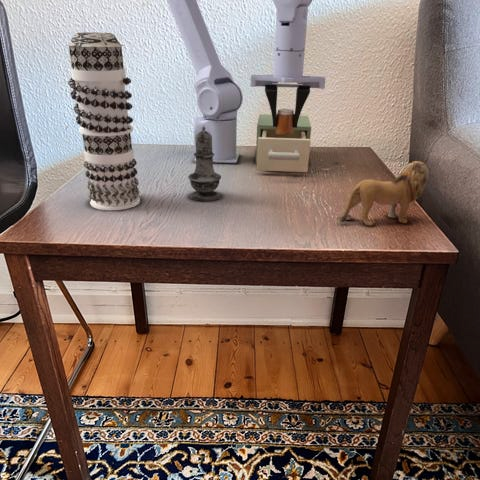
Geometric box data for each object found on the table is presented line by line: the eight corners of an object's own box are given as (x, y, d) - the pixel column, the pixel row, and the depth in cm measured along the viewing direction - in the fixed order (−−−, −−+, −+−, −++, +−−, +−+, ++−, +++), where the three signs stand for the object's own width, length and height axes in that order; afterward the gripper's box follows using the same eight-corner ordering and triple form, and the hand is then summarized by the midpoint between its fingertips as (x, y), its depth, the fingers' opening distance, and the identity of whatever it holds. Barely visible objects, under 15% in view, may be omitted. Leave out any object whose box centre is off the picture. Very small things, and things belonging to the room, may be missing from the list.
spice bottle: (275, 134, 96) (277, 111, 93) (275, 131, 99) (277, 108, 96) (293, 135, 95) (295, 111, 93) (292, 131, 98) (294, 108, 96)
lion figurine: (406, 210, 80) (418, 156, 75) (426, 221, 76) (440, 165, 71) (331, 219, 76) (338, 163, 71) (348, 231, 72) (357, 172, 67)
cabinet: (307, 165, 104) (311, 126, 99) (255, 163, 104) (257, 125, 100) (304, 151, 115) (307, 115, 111) (257, 149, 116) (259, 114, 111)
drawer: (308, 178, 92) (311, 145, 89) (256, 176, 93) (257, 143, 89) (304, 157, 106) (307, 127, 103) (259, 155, 107) (260, 126, 103)
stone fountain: (225, 193, 86) (226, 124, 79) (214, 203, 81) (213, 130, 75) (196, 189, 88) (194, 121, 81) (183, 199, 83) (179, 127, 76)
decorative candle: (112, 190, 86) (91, 31, 72) (153, 199, 83) (139, 33, 69) (76, 204, 79) (45, 32, 66) (119, 214, 76) (96, 34, 62)
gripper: (250, 50, 86) (248, 128, 93) (329, 52, 85) (321, 131, 93) (252, 48, 92) (250, 122, 99) (326, 50, 91) (318, 124, 98)
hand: (284, 126), depth 96 cm, fingers closed on spice bottle, 3 cm apart
